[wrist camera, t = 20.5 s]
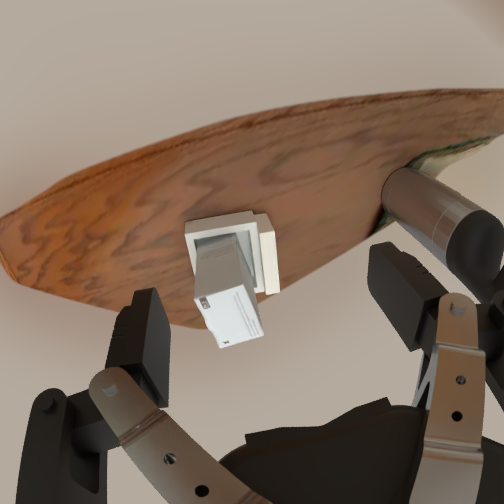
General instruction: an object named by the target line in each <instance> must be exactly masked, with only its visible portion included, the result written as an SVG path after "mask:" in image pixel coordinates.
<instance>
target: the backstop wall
mask: <svg viewBox="0 0 504 504" xmlns="http://www.w3.org/2000/svg"><path fill="white" fill-rule="evenodd" d="M254 217H255V220H256V223H257V232H258V240H259V249H260V257H261V266H262V274H263V283H264V289H265V292H266V295H268V294H274V293H279V292H280V288H279V276H278V264H277V252H276V241H275V231H274V229H273V227H272V224H271V222H270V220H269V218H268V216H267V214H266V213H263V214H256V215H254Z"/></svg>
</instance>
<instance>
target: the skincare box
mask: <svg viewBox="0 0 504 504" xmlns="http://www.w3.org/2000/svg"><path fill="white" fill-rule="evenodd" d="M197 241H198V242H197V257H196V272H195V287H194V301H195V303H196V304H197V306H198V308H199V310H200V311H201V313H202V315H203V317H204V319H205V322H206V325H207V327H208V329H209V330H210V331H212V333H213V335H214V337H215V339H216V341H217V343H218V346H219V347H220V348H223V347H226V346H230V345H234V344H237V343H240V342H243V341H247V340H250V339H254V338H258V337H261V336H263V335H264V333H263V329H262V325H261V320H260V315H259V311H258V305H257V300H256V295H255V291H254V286H253V281H252V276H251V271H250V268H249V266H248V264H247V262H246V259H245V257H244V254H243V252H242V249H241V246H240V243H239V240H238V238H237V234H236V232H234V233H228V234H222V235H217V236H211V237H205V238H201V239H198V240H197Z"/></svg>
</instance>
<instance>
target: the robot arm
mask: <svg viewBox="0 0 504 504" xmlns="http://www.w3.org/2000/svg"><path fill="white" fill-rule="evenodd" d="M382 205H383V208H384V210H385V212H386V213H387V214H388V215H389V216H390V217H391V218H392V219H394V220H395V221H396V222H397V223H398V224H399V225H401V226H402V227H403V228H404V229H405V230H406V231H407V232H409V233H410V234H411V235H412V236H413V237H414V238H415V239H417V240H418V241H419V242H420V243H421V244H422V245H423V246H424V247H426V248H427V249H428V250H429V251H430V252H431V253H432V254H433V255H434V256H435V257H436V258H437V259H438V260H440V261H441V262H442V263H443V264H444V265H445V266H446V267H447V268H448V269H449V270H450V271H451V272H452V273H453V274H454V275H455V276H456V277H457V278H458V279H459V280H460V281H461V282H462V283H463V284H464V285H465V286H466V287H467V288H468V289H469V290H470V291H471V292H472V293H473V295H474V296H475V297H476V298H477V299H478V300H479V302H480V303H481V304H475V303H474V302H473V301H472V300H471V299H470V298H469V297H467V296H465V295H463V294H459V293H449V292H448V291H447V290H446V289H445V288H444V287H443V286H442V285H441V283H440V282H439V281H438V280H437V279H436V278H435V277H434V276H433V275H432V274H431V273H429V271H428V270H427V269H426V268H425V267H424V266H422V264H421V263H420V262H419V261H418V260H417V259H416V258H415V257H414V256H412V255H410V254H408V253H406V252H401V251H400V250H398V248H396V247H395V245H394V244H393V243H391V242H384V243H380V244H375V245H372V246H371V247H370V251H369V265H368V276H367V281H368V288H369V291H370V293H371V295H372V296H373V298H374V299H375V300H376V302H377V303H378V305H379V306H380V308H381V309H382V310H383V312H384V313H385V315H386V316H387V318H388V319H389V321H390V322H391V324H392V325H393V327H394V328H395V330H396V331H397V332H398V334H399V336H400V337H401V339H402V340H403V341H404V343H405V345H406V346H407V347H408V349H409V351H410V352H412V351H414V350H417V349H420V348H422V350H423V351H424V352H423V355H422V359H421V365H420V370H419V376H418V381H417V386H416V391H415V395H414V399H413V403H412V405H411V406H406V405H392V406H391V404H390V402H389V400H388V398H387V397H385V398H382V399H379V400H376V401H373V402H370V403H367V404H364V405H361V406H358V407H355V408H353V409H352V410H350V411H348V412H346V413H345V414H343V415H341V416H339V417H338V418H336V419H334V420H332V421H330V422H329V423H327V424H325V425H322V426H318V427H317V426H315V427H281V428H275V429H271V430H266V431H261V432H255V433H250V434H245V439H246V444H244V445H242V446H240V447H238V448H236V449H234V450H233V451H231V452H229V453H228V454H227V455H225V456H224V457H223V458H222V459H220V460H219V461H216V460H215V459H214V458H213V457H212V456H211V455H210V454H209V453H207V452H206V451H205V450H204V449H203V448H202V447H201V446H200V445H199V444H198V443H197V442H196V441H194V440H193V439H192V438H191V437H190V436H189V435H188V434H187V433H186V432H185V431H184V430H183V429H182V428H181V427H180V426H179V425H178V424H177V423H176V422H175V421H174V420H173V419H172V418H171V417H170V416H169V415H168V414H167V413H166V412H165V411H163V410H162V411H161V410H160V409H159V408H165V407H168V399H169V397H168V396H169V395H168V394H169V362H170V339H171V331H170V325H169V321H168V318H167V315H166V313H165V310H164V308H163V305H162V302H161V300H160V297H159V294H158V292H157V290H156V288H155V287H153V288H148V289H142V290H137V291H135V292H134V295H133V300H132V304H131V306H125V307H124V308H123V309H122V310H121V312H120V313H119V315H118V316H117V318H116V322H115V326H114V330H113V334H112V338H111V342H110V346H109V351H108V355H107V360H106V364H105V369H104V370H102V371H100V372H98V373H97V374H96V375H95V376H94V377H93V379H92V380H91V382H90V384H89V389H87V390H84V391H82V392H79V393H76V394H73V395H71V396H68V397H67V396H66V395H65V394H64V393H63V391H61V390H59V389H56V388H51V389H47V390H45V391H43V392H42V393H40V394H39V395H38V397H36V399H35V400H34V402H33V405H32V409H31V413H30V417H29V421H28V426H27V431H26V436H25V441H24V446H23V452H22V457H21V463H20V470H19V477H18V486H17V493H16V504H107V451H108V450H110V449H113V448H116V447H119V446H122V448H123V449H124V450H125V452H126V453H127V454H128V456H129V457H130V458H131V460H132V461H133V462H134V463H135V465H136V466H137V467H138V468H139V470H140V471H141V472H142V473H143V474H144V476H145V477H146V478H147V479H148V480H149V482H150V483H151V484H152V485H153V486H154V488H155V489H156V490H157V491H158V492H159V493H160V494H161V496H162V497H163V498H164V499H165V500H166V501H167V502H168V503H169V504H504V445H503V444H500V443H498V442H495V441H493V440H491V439H488V438H486V437H484V436H482V428H483V417H484V402H485V381H486V383H487V384H488V386H489V387H490V389H491V391H492V393H493V394H494V396H495V398H496V399H497V401H498V403H499V404H500V406H501V408H502V410H503V411H504V265H503V267H502V269H501V270H500V265H501V260H502V256H503V252H504V227H503V225H502V223H501V222H500V221H499V219H497V218H496V217H495V216H493V215H492V214H490V213H489V212H487V211H486V210H484V209H483V208H481V207H480V206H478V205H477V204H475V203H473V202H472V201H470V200H468V199H467V198H465V197H464V196H462V195H461V194H460V193H458V192H457V191H455V190H453V189H451V188H450V187H448V186H446V185H445V184H443V183H441V182H439V181H438V180H436V179H434V178H432V177H430V176H429V175H427V174H424V173H422V172H420V171H418V170H416V169H414V168H411V167H404V168H401V169H398V170H397V171H395V172H394V173H393V174H392V175H390V177H389V178H388V179H387V181H386V183H385V185H384V187H383V190H382Z"/></svg>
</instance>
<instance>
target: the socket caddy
mask: <svg viewBox="0 0 504 504" xmlns="http://www.w3.org/2000/svg"><path fill="white" fill-rule="evenodd" d="M234 232H236V234H237V238H238V240H239V243H240V246H241V249H242V252H243V254H244V257H245V259H246V262H247V264H248V266H249V268H250V271H251V276H252V281H253V286H254V291H255V293H259V292H264V283H263V274H262V266H261V257H260V249H259V240H258V232H257V223H256V220H255V217H254V215H253V212H252V210H251V211H245V212H239V213H233V214H227V215H221V216H216V217H210V218H204V219H199V220H193V221H188V222H186V224H185V238H186V242H187V246H188V251H189V255H190V259H191V263H192V267H193V271H194V275H195V272H196V257H197V242H198V241H197V240H198V239H201V238H205V237H211V236H217V235H222V234H228V233H234Z"/></svg>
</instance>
